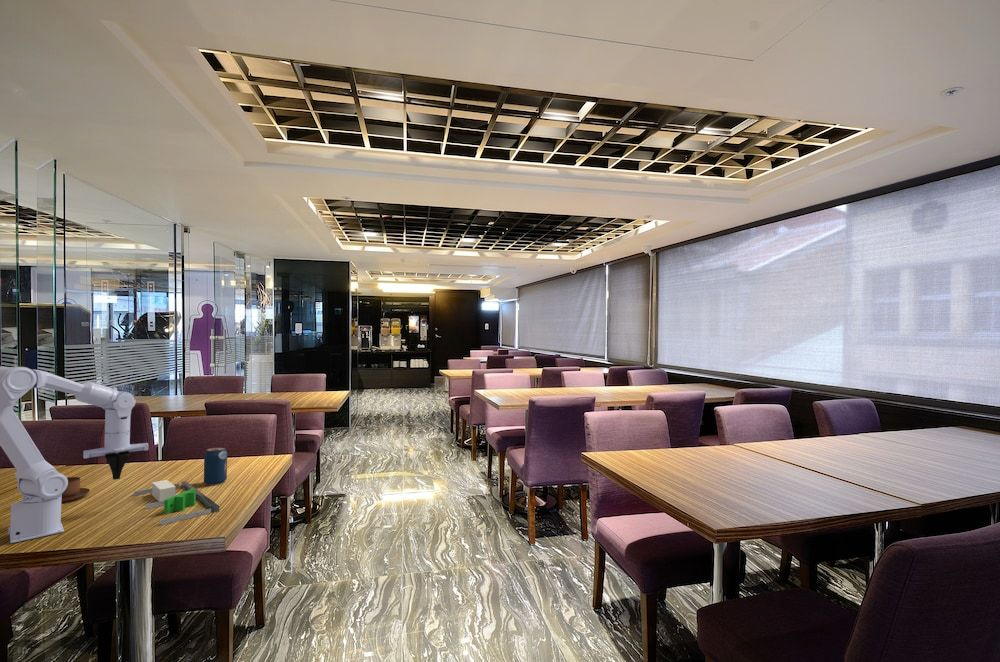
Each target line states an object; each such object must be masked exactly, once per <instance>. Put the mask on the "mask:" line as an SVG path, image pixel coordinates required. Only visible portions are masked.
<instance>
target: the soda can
mask: <svg viewBox="0 0 1000 662" xmlns="http://www.w3.org/2000/svg"><path fill="white" fill-rule="evenodd" d="M227 478H228V451H227V450H226V447H225V446H218V447H217V446H216V447H210V448H207V449H206V450H205V452H204V457H203V482H204V484H205V485H206V486H218V485H222V484H224V483H225V482H226V480H227Z"/></svg>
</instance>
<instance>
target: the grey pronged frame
mask: <svg viewBox="0 0 1000 662" xmlns="http://www.w3.org/2000/svg"><path fill="white" fill-rule="evenodd" d="M172 484H173V485H174V486H175V487H176V489H177V488H180V484H181V487H182V489H184V490H185V491H188V490H190V489H195V492H196V496H195V499H197V501H199V502H201V503H202V504H203V505H205V506H206V507H207V508H206V509H201V510H198V511H197V510H196V511H193V512H189V513H183V514H180V515H175V516H171V517H170V516H169V517H166V518H163V519H159V526H163V525H167V524H171V523H174V522H175V523H176V522H179V521H183V520H184V521H185V520H188V519H192V518H196V517H201V516H205V515H208V514H209V515H210V514H211V513H212V512H213V513H217V512H220V505H219V504H217V503H216V502H215V501H213V500H212V499H211V498H209V497H208V496H206V495H205V494H204V493H202V492H201V491H200V490H198V489H197V488H196V487H195V486H193V485H192V484H190V483H189V482H188V481H186V480H185V481H181V483H178V482H177V483H172ZM146 494H152V487H151V488H145V489H141V490H139V489H138V490H135V491H133V496H140V495H146ZM162 506H163V507H164V501H160V502H159V501H156V502H151V503H150V502H149V503H146V504H145V510H148V509H154V508H157V507H162Z"/></svg>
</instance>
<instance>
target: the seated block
mask: <svg viewBox="0 0 1000 662" xmlns="http://www.w3.org/2000/svg"><path fill="white" fill-rule="evenodd" d="M173 484H174V483H172V482H171V481H170V480H168V479H164V480H159V481H153V482H151V488H152V493H151V495H152V496H153V498H155V500H156V501H157V502H160V501H164V500H165V499H168V498H170V497H173V496H175V495H176V489H177V488H176V487H175V486H174V485H173Z"/></svg>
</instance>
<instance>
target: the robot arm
mask: <svg viewBox="0 0 1000 662" xmlns="http://www.w3.org/2000/svg"><path fill="white" fill-rule="evenodd" d="M40 388H47V389H50V390H54V391H58V392H62V393H66V394H71V395H73V396H74V397H75V398H74V399H76V401H77V402H81V403H85V404H88V405H92V406H96V407H100V408H102V409H103V410H104V411H105V413H104V416H105V419H104V443H103V444H104V447H100V448H99V447H98V448H93V449H88V450H87V449H86V450H83V459H84V460H85V459H90V458H94V457H95V458H96V457H102V456H103V457H104V458H105V460H106V462H107V463H108V466H109V468H110V471H111V475H112V479H113V480H120V479H121V474H122V471H123V469H124V467H125V465H126V462H127V460H129V457H130V453H134V452H141V451H149V443H148V442H143V443H132V444H131V442H130V441H131V440H130V439H131V415H132V410H133V408H134V407H135V406H136V403H137V400H136V399H135V398H134V395H132V393H131V392H128V391H120V390H118V388H117V387H109V386H105V385H102V384H101V381H97V380H93V381H85V382H83V383H80V382H77V381H74V380H71V379H68V378H65V377H62V376H59V375H56V374H52V373H51V372H47V371H44V370H40V369H34V368H33V369H31V368H29V367H26V366H15V367H10V366H4V365H3V366H0V447H1V449H2V451H3V452H4V453H5V455H6V457H8V460H9V461H10V463H12V465H13V467H14V468H15V469H16V471H15V474H14V476H15V478H16V481H17V486H16V487H17V490H18V492H19V493H20V494H22V495H23V496H22V499H21V501H18V502H14V503H11V505H10V525H9V526H8V527H7V528H8V529H7V531H8V532H7V535H9V543H10V544H14V543H19V542H23V541H24V542H25V541H28V540H33V539H37V538H42V537H46V536H51V535H52V536H53V535H54V534H55V535H56V534H61V533H63V532H65V529H64V526H63V524H62V523H63V522H61V521H62V502H61V500H62V493H63V492H64V491H65V489H66V488H67V485H68V480H67V478H68V477H67V476H66V475H64V474H63V473H60V472H59V471H58V470H57V469H56V468H55V467H54V466H53V465H52V464H50V463H49V462H48V461H47V460H45V458H44V457H43V455H42V453H41V452H40V450H39V448H38V447H37V445H36V444H35V442H34V441H33V439H32V437H31V436H30V435H29V433H28V431H27V430H26V428H25V426H24V424H23V423H22V422H21V419H20V418H19V417H18V416H17V414H16V412H15V411H14V409H13V408H14V406H15V405H16V403H17V402H18V401H19V399H20V398H22V397H23V396H24V395H25V394H26V393H28V392H29V391H30V390H31V389H40Z"/></svg>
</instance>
